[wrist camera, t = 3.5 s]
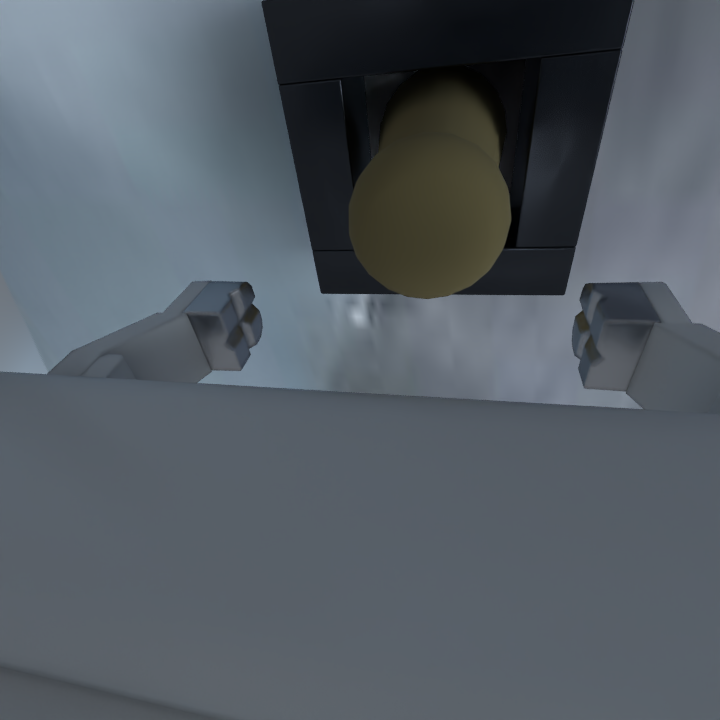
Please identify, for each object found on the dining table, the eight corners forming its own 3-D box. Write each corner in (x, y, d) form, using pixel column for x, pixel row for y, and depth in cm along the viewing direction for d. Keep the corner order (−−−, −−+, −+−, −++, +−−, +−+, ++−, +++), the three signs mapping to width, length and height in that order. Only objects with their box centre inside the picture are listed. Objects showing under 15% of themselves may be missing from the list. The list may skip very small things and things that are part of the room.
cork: (385, 204, 23) (342, 326, 15) (372, 73, 20) (304, 148, 12) (502, 196, 22) (519, 326, 14) (512, 53, 18) (545, 123, 10)
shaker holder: (298, -6, 18) (260, 0, 15) (611, -53, 16) (648, -58, 12) (339, 252, 26) (320, 294, 23) (551, 250, 23) (564, 296, 20)
